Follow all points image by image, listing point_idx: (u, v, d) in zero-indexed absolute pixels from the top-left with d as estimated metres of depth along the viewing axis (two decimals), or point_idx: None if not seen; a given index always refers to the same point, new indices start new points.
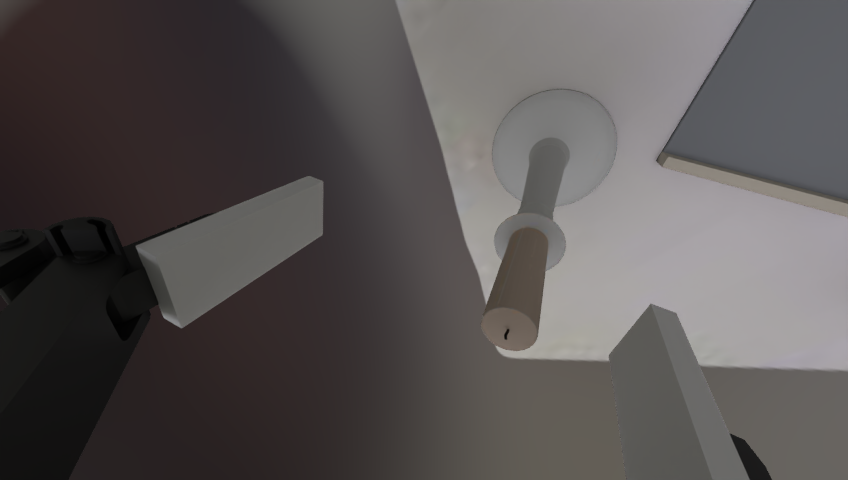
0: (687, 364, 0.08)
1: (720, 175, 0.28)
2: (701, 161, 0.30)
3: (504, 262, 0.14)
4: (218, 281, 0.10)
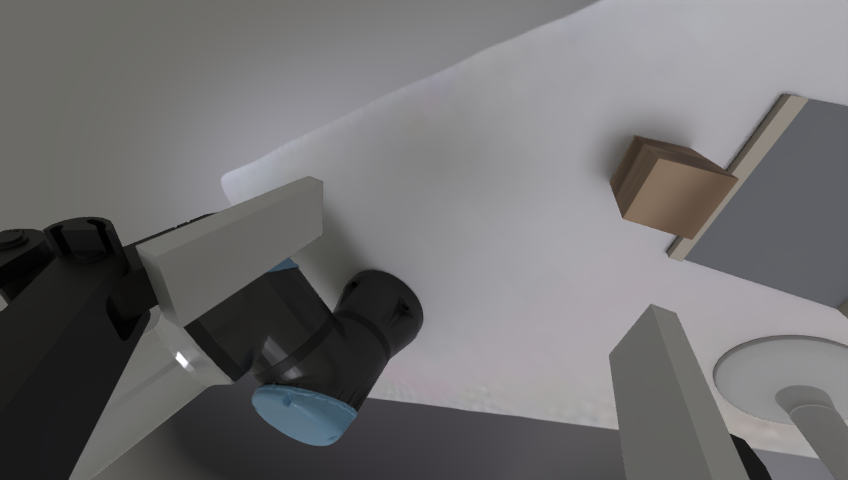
0: (687, 364, 0.08)
1: None
2: None
3: None
4: (218, 281, 0.10)
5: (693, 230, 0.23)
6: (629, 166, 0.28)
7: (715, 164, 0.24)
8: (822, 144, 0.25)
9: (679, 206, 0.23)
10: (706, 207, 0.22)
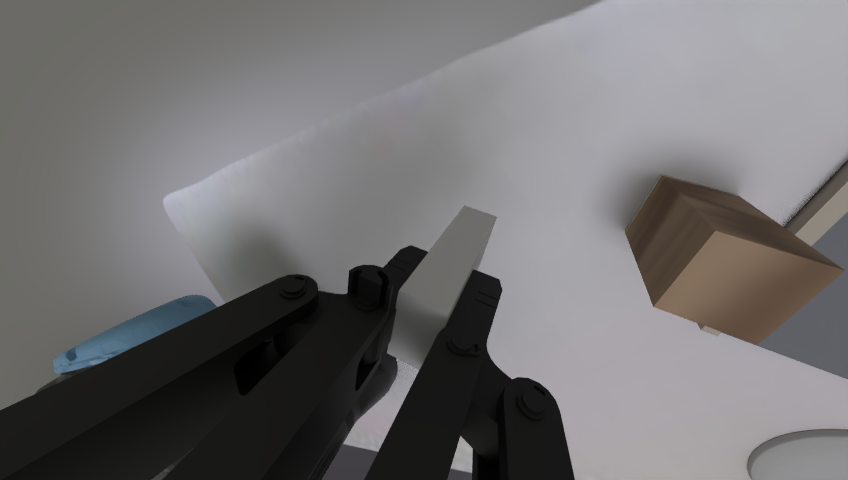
0: (476, 237, 0.11)
1: None
2: None
3: None
4: None
5: (761, 333, 0.16)
6: (657, 221, 0.20)
7: (788, 231, 0.17)
8: None
9: (742, 299, 0.15)
10: (785, 304, 0.15)
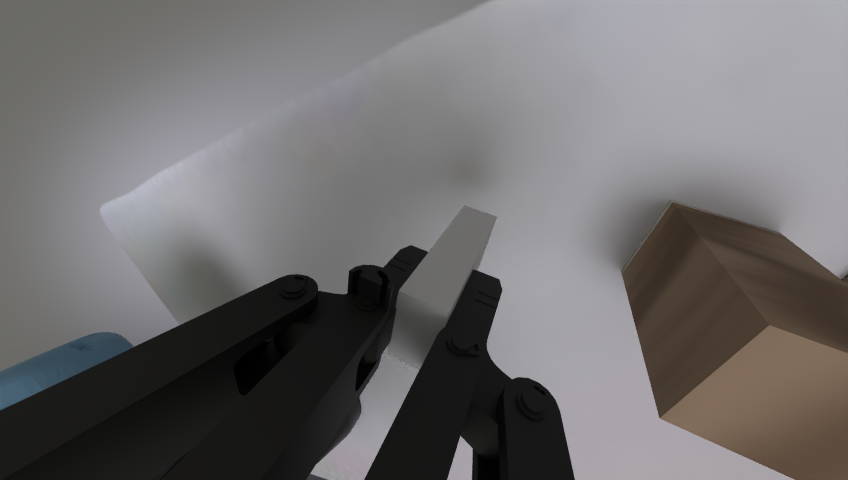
0: (476, 237, 0.11)
1: None
2: None
3: None
4: None
5: None
6: (665, 271, 0.14)
7: None
8: None
9: (807, 429, 0.09)
10: None
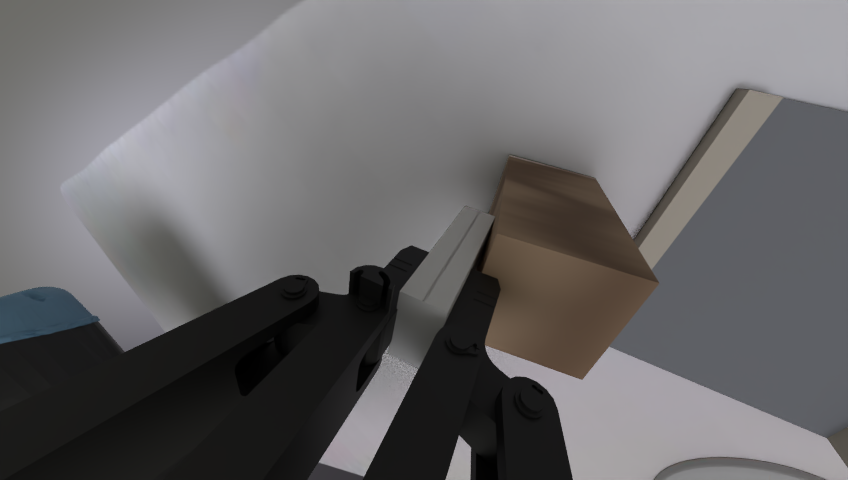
0: (475, 237, 0.11)
1: None
2: None
3: None
4: None
5: (582, 365, 0.12)
6: None
7: (621, 224, 0.13)
8: (807, 181, 0.14)
9: (551, 323, 0.11)
10: (600, 329, 0.11)
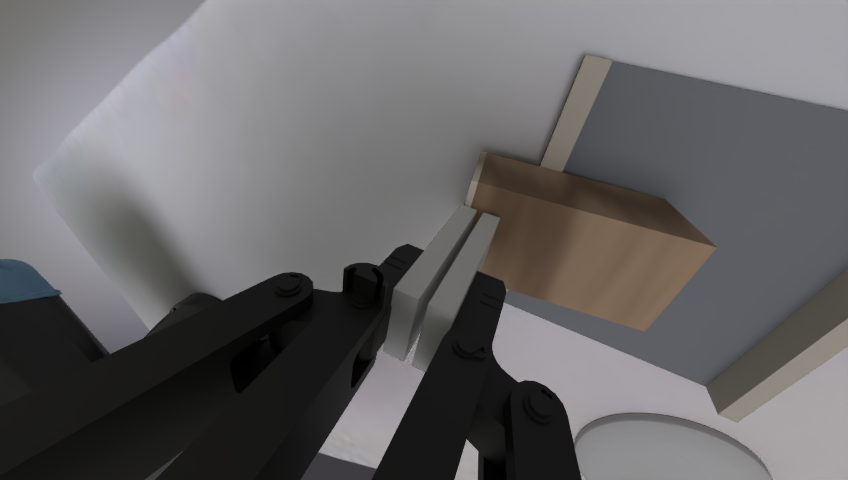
0: (480, 239, 0.11)
1: (788, 372, 0.16)
2: (743, 354, 0.18)
3: None
4: (425, 314, 0.10)
5: None
6: (545, 248, 0.14)
7: (589, 180, 0.17)
8: (650, 139, 0.15)
9: None
10: None
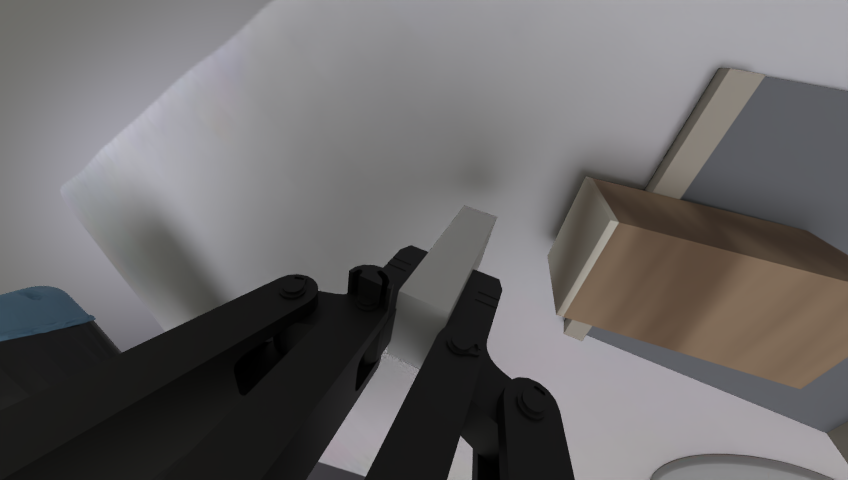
0: (476, 237, 0.11)
1: None
2: None
3: None
4: None
5: None
6: (690, 296, 0.12)
7: (715, 208, 0.15)
8: (795, 163, 0.13)
9: None
10: None
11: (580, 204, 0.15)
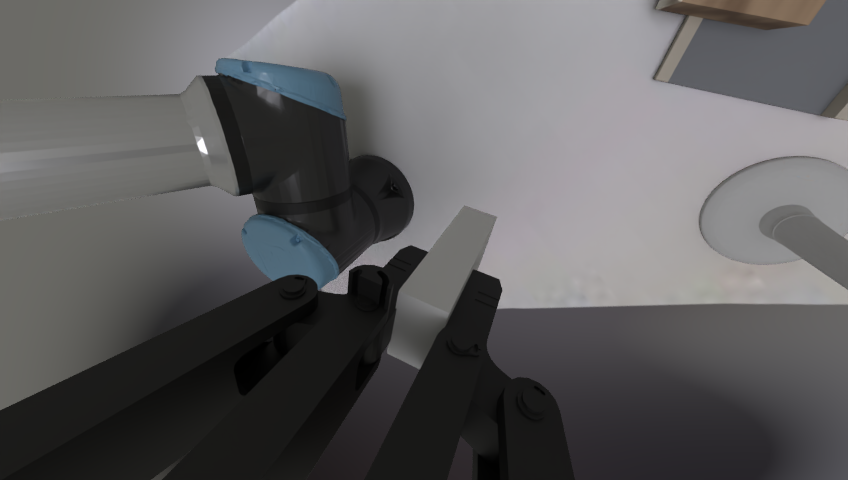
0: (476, 237, 0.11)
1: None
2: None
3: None
4: None
5: None
6: None
7: None
8: None
9: None
10: None
11: None
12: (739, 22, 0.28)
